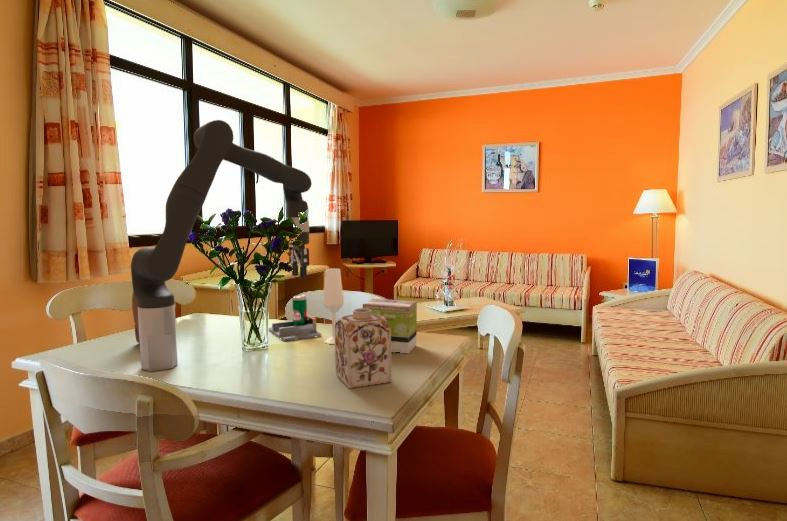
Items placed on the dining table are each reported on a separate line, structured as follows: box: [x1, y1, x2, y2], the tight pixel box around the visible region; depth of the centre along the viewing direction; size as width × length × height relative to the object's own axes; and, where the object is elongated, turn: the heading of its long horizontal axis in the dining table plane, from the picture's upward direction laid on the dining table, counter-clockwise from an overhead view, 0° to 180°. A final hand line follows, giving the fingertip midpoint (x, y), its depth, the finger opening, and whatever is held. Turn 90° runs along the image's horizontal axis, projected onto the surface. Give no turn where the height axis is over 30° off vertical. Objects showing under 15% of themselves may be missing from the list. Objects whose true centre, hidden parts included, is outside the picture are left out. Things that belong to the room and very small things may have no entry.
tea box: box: [362, 298, 418, 354], centre depth 155 cm, size 15×10×15 cm
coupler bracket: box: [268, 313, 322, 342], centre depth 175 cm, size 18×13×5 cm
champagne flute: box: [322, 268, 345, 343], centre depth 162 cm, size 7×7×24 cm
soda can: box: [291, 294, 308, 326], centre depth 176 cm, size 5×5×12 cm
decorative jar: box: [334, 307, 393, 389], centre depth 127 cm, size 12×12×18 cm
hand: (299, 276), depth 174 cm, fingers open, 8 cm apart
